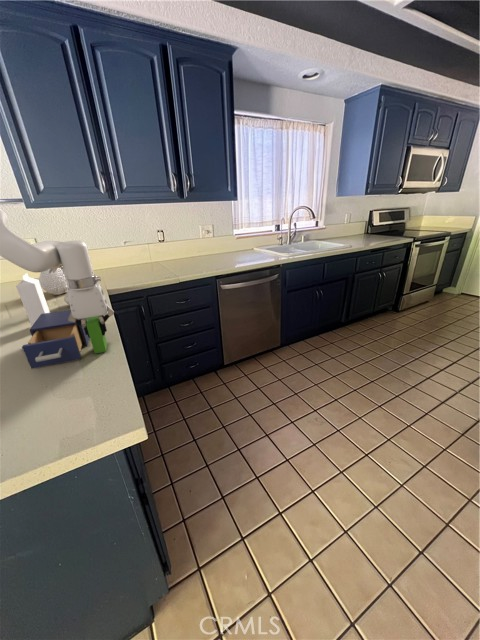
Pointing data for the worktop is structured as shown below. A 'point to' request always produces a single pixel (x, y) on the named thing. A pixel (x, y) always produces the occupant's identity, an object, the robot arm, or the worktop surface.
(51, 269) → the flower vase
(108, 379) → the worktop surface
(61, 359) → the drawer
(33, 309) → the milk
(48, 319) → the cabinet
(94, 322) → the green rectangular box
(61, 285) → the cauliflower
